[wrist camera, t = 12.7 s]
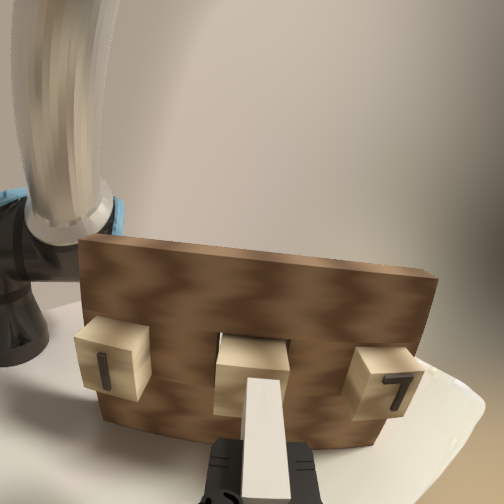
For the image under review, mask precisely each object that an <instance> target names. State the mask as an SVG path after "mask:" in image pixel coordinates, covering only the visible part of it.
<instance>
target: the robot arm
mask: <svg viewBox="0 0 504 504" xmlns="http://www.w3.org/2000/svg"><path fill="white" fill-rule="evenodd" d="M119 2H120V0H14V4H13V15H12V28H11V80H12V95H13V106H14V114H15V122H16V129H17V136H18V142H19V148H20V153H21V158H22V163H23V168H24V172H25V176H26V181H27V185H28V189H29V193H30V195H29V197H28V193H27V189H26V188H25V187H22V188H17V189H11V190H6V191H1V192H0V366H12V365H17V364H20V363H23V362H26V361H28V360H30V359H32V358H34V357H36V356H37V355H38V354H40V353H41V352H42V351H43V350H44V349H45V347H46V346H47V344H48V341H49V333H48V328H47V323H46V321H45V319H44V317H43V315H42V313H41V311H40V308H39V306H38V304H37V302H36V300H35V298H34V296H33V293H32V290H31V282H80V276H79V256H78V239H80V238H83V237H86V236H89V235H92V234H95V233H98V234H108V235H117V236H123V225H124V202H123V200H121V199H120V198H116V197H115V196H112V192H111V189H110V187H109V185H108V184H107V183H106V181H105V180H104V179H103V178H101V177H100V176H101V172H100V166H101V164H100V162H101V161H100V160H101V129H102V113H103V100H104V90H105V81H106V72H107V65H108V58H109V51H110V46H111V40H112V35H113V30H114V25H115V20H116V15H117V11H118V6H119ZM27 197H28V198H27ZM198 504H323V503H322V501H321V498H320V493H319V487H318V481H317V475H316V471H315V464H314V458H313V453H312V450H311V449H310V447H309V446H308V445H307V443H306V442H286V440H285V429H284V419H283V409H282V399H281V390H280V380H271V379H259V378H249V377H248V378H247V385H246V392H245V399H244V405H243V412H242V422H241V438H240V440H238V439H228V438H220V437H218V439H217V440H216V441H215V442H214V444H213V445H212V448H211V454H210V460H209V467H208V473H207V479H206V486H205V492H204V496H203V497H202V499H201V502H200V503H198Z"/></svg>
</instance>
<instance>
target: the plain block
mask: <svg viewBox="0 0 504 504" xmlns="http://www.w3.org/2000/svg"><path fill="white" fill-rule="evenodd" d="M289 373H290V367H289V361H288V356H287V350H286V344H285V339H280V338H268V337H257V336H247V335H238V334H229V333H223V335H222V339H221V344H220V349H219V353H218V358H217V363H216V375H215V392H214V410H213V415H221V416H230V417H239V418H242V412H243V405H244V399H245V392H246V385H247V378H248V377H249V378H259V379H271V380H280V390H281V399H282V404H283V400H284V395H285V391H286V387H287V382H288V378H289Z"/></svg>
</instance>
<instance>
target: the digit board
mask: <svg viewBox="0 0 504 504" xmlns="http://www.w3.org/2000/svg"><path fill="white" fill-rule="evenodd" d="M78 256H79V276H80V288H81V289H80V290H81V301H82V310H83V319H84V328H82V329H81V330H80V331H79V332H78V333H77V334H76V335H75V336H74V341H75V347H76V352H77V357H78V362H79V367H80V371H81V376H82V380H83V384H84V387H86V388H89V389H92V390H95V391H96V392H97V396H98V400H99V404H100V408H101V412H102V416H103V419H104V420H106V421H109V422H113V423H116V424H119V425H123V426H127V427H130V428H134V429H138V430H142V431H146V432H150V433H155V434H159V435H164V436H169V437H174V438H179V439H184V440H190V441H196V442H203V443H210V444H214V442H215V441H216V440H217V439H218V437H220V438H228V439H238V440H240V438H241V422H242V418H239V417H230V416H221V415H213V410H214V392H215V375H216V363H217V358H218V353H219V340H220V332H221V333H229V334H238V335H247V336H257V337H268V338H280V339H285V344H286V350H287V356H288V361H289V367H290V373H289V378H288V382H287V387H286V391H285V395H284V400H283V404H282V409H283V419H284V429H285V440H286V442H306V443H307V445H308V446H309V447H310V449H333V448H348V447H359V446H369V445H373V444H374V442H375V441H376V439H377V437H378V435H379V433H380V431H381V430H382V428H383V426H384V424H385V422H386V420H387V419H388V418H396V417H403V416H404V414H405V412H406V410H407V408H408V406H409V404H410V402H411V400H412V398H413V396H414V394H415V391H416V389H417V387H418V385H419V383H420V380H421V378H422V376H423V374H424V371H425V370H424V369H423V368H422V367H421V365H420V364H419V363H418V362H417V361H416V359H415V358H414V356H415V354H416V351H417V348H418V345H419V343H420V340H421V337H422V334H423V331H424V328H425V325H426V322H427V319H428V315H429V312H430V308H431V305H432V302H433V298H434V295H435V291H436V287H437V283H438V278H436V277H435V276H433V275H431V274H430V273H428V272H426V271H424V270H423V269H415V268H407V267H406V268H405V267H398V266H388V265H380V264H371V263H362V262H354V261H344V260H336V259H327V258H318V257H309V256H300V255H291V254H282V253H272V252H263V251H254V250H245V249H236V248H227V247H218V246H209V245H200V244H190V243H181V242H172V241H163V240H154V239H144V238H135V237H126V236H117V235H108V234H98V233H95V234H92V235H89V236H86V237H83V238H80V239H78Z"/></svg>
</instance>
